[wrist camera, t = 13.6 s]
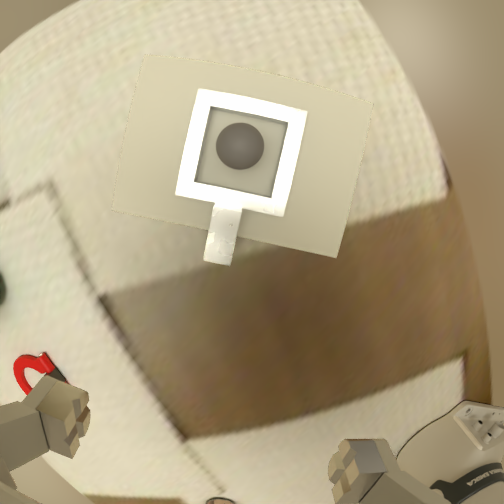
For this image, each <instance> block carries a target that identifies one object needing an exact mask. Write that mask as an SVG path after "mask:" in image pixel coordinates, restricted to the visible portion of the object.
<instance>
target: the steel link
mask: <svg viewBox="0 0 504 504" xmlns="http://www.w3.org/2000/svg"><path fill="white" fill-rule="evenodd" d="M213 110H216V111H222V112H227V113H232V114H237V115H242V116H247V117H252V118H256V119H261V120H265V121H270V122H274V123H278V124H282V125H286V126H285V131H284V135H283V139H282V144H281V148H280V152H279V157H278V161H277V165H276V170H275V174H274V178H273V183H272V187H271V191H270V196H267V195H262V194H258V193H253V192H249V191H244V190H239V189H234V188H230V187H225V186H220V185H215V184H210V183H205V182H200V181H197V179H198V174H199V169H200V165H201V160H202V155H203V151H204V146H205V142H206V137H207V133H208V128H209V124H210V120H211V116H212V111H213ZM307 113H308V111H304V110H300V109H296V108H292V107H288V106H284V105H280V104H276V103H272V102H267V101H263V100H258V99H254V98H249V97H244V96H239V95H234V94H229V93H223V92H217V91H212V90H205V89H198V93H197V97H196V101H195V105H194V109H193V113H192V117H191V122H190V126H189V130H188V135H187V139H186V144H185V148H184V153H183V158H182V163H181V167H180V172H179V178H178V183H177V188H176V193H175V195H179V196H184V197H189V198H194V199H199V200H204V201H209V202H214V203H216V204H215V205H214V207H213V212H212V217H211V222H210V227H209V232H208V237H207V242H206V247H205V253H204V258H203V260H204V261H208V262H213V263H218V264H223V265H228V266H230V264H231V260H232V255H233V250H234V246H235V241H236V236H237V232H238V227H239V223H240V218H241V214H242V208H243V209H247V210H252V211H257V212H261V213H266V214H270V215H275V216H279V217H283V216H284V212H285V208H286V203H287V199H288V195H289V191H290V187H291V182H292V178H293V174H294V170H295V165H296V161H297V157H298V152H299V148H300V144H301V139H302V135H303V130H304V126H305V122H306V117H307Z"/></svg>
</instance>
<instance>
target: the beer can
mask: <svg viewBox="0 0 504 504" xmlns="http://www.w3.org/2000/svg"><path fill="white" fill-rule="evenodd" d="M206 504H234V503H232V502H231V501H228V500H226V499H213V500H209V501H208V502H206Z"/></svg>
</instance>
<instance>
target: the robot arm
mask: <svg viewBox="0 0 504 504" xmlns="http://www.w3.org/2000/svg"><path fill="white" fill-rule="evenodd" d="M88 402H89V395H88V392H87V391H85V390H82V389H79V388H77V387H74V386H72V385H70V384H67V383H65V382H62V381H59V380H57V379H55V378H52V377H50V376H48V375H46V376H44V377H42V379H41V380H40V381H39V382H38V383H37V384H36V386H35V387H34V388H33V389H32V390H31V392H30V393H29V394H28V395H27V396H26V397H25V399H24V400H23V401H22V402H21V403H20V402H18V401H16V402H13V403H10V404H6V405H3V406H0V504H42V503H39V502H37V501H35V500H34V499H32V498H30V497H28V496H26V495H24V494H22V493H20V492H18V491H17V490H16V489H17V486H16V483H15V481H14V479H13V478H12V476H11V474H10V471H12V470H14V469H16V468H18V467H20V466H22V465H24V464H25V463H27V462H29V461H31V460H33V459H35V458H37V457H39V456H41V455H42V454H44V453H46V452H48V451H49V450H51V451H54V452H56V453H59V454H61V455H64V456H66V457H69V458H71V459H73V457H74V455H75V453H76V451H77V449H78V448H79V446H80V443H79V438H81V437H83V436H85V434H86V432H87V430H88V427H89V424H90V410H89V408H88V407H87V403H88ZM503 423H504V407H498V406H493V405H487V404H482V403H477V402H472V401H463V402H462V403H460V404H459V405H458V406H456V407H455V408H454V409H453V410H452V411H451V412H450V413H448V414H447V415H445V416H444V417H442V418H440V419H438V420H437V421H435V422H433V423H431V424H430V425H428V426H427V427H425V428H424V429H423V430H421V431H420V432H419V433H418V434H416V435H415V436H414V437H413V438H412V439H411V440H410V441H409V442H408V443H407V444H406V445H405V446H404V448H403V449H402V450H401V452H400V453H399V455H398V457H397V460H396V459H395V457H394V455H393V453H392V451H391V449H390V446H389V444H388V442H387V441H386V440H385V439H344V440H343V441H341V443H340V444H339V446H338V448H339V452H337V453H335V454H334V455H333V456H332V458H331V460H330V461H329V466H328V476H329V480H330V481H331V482H333V483H334V484H335V485H334V487H333V488H332V493H333V497H334V501H335V504H358V503H359V504H504V472H503V469H502V465H501V461H502V458H503V456H504V426H503Z"/></svg>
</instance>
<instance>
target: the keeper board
mask: <svg viewBox="0 0 504 504" xmlns="http://www.w3.org/2000/svg"><path fill="white" fill-rule="evenodd" d="M198 89H205V90H212V91H217V92H223V93H229V94H234V95H239V96H244V97H249V98H254V99H258V100H263V101H267V102H272V103H276V104H280V105H284V106H288V107H292V108H296V109H300V110H304V111H308V113H307V117H306V122H305V126H304V130H303V135H302V139H301V144H300V148H299V152H298V157H297V161H296V165H295V170H294V174H293V178H292V182H291V187H290V191H289V195H288V199H287V203H286V208H285V212H284V216H283V217H279V216H275V215H270V214H266V213H261V212H257V211H252V210H247V209H243V208H242V214H241V218H240V223H239V227H238V232H237V237H241V238H246V239H251V240H256V241H260V242H265V243H270V244H274V245H279V246H284V247H288V248H293V249H297V250H302V251H307V252H311V253H316V254H320V255H325V256H329V257H334V258H337V254H338V251H339V247H340V244H341V240H342V237H343V233H344V229H345V226H346V222H347V218H348V214H349V211H350V207H351V203H352V199H353V195H354V191H355V187H356V183H357V179H358V175H359V170H360V166H361V162H362V157H363V153H364V148H365V144H366V139H367V134H368V130H369V125H370V120H371V115H372V110H373V105H374V104H373V103H370V102H368V101H365V100H362V99H359V98H356V97H353V96H350V95H347V94H344V93H341V92H338V91H335V90H332V89H328V88H325V87H322V86H318V85H315V84H311V83H308V82H304V81H300V80H296V79H293V78H289V77H285V76H280V75H276V74H272V73H268V72H263V71H258V70H254V69H249V68H244V67H238V66H233V65H227V64H221V63H215V62H209V61H202V60H194V59H186V58H178V57H168V56H157V55H144V59H143V62H142V66H141V69H140V73H139V76H138V80H137V83H136V87H135V91H134V95H133V99H132V103H131V107H130V111H129V116H128V120H127V124H126V129H125V134H124V138H123V143H122V148H121V154H120V159H119V164H118V170H117V176H116V182H115V189H114V195H113V202H112V210H111V211H115V212H120V213H125V214H130V215H135V216H140V217H145V218H150V219H155V220H160V221H165V222H169V223H174V224H179V225H184V226H189V227H194V228H199V229H203V230H208V231H209V227H210V222H211V217H212V212H213V207H214V205H215V204H216V203H214V202H209V201H204V200H199V199H194V198H189V197H184V196H179V195H175V193H176V188H177V183H178V178H179V172H180V167H181V163H182V158H183V153H184V148H185V144H186V139H187V135H188V130H189V126H190V122H191V117H192V113H193V109H194V105H195V101H196V97H197V93H198ZM285 126H286V125H282V124H278V123H274V122H270V121H265V120H261V119H256V118H252V117H247V116H242V115H237V114H232V113H227V112H222V111H216V110H213V111H212V116H211V120H210V124H209V128H208V133H207V137H206V142H205V146H204V151H203V155H202V160H201V165H200V169H199V174H198V179H197V181H200V182H205V183H210V184H215V185H220V186H225V187H230V188H234V189H239V190H244V191H249V192H253V193H258V194H262V195H267V196H270V191H271V187H272V183H273V178H274V174H275V170H276V165H277V161H278V157H279V152H280V148H281V144H282V139H283V135H284V131H285Z"/></svg>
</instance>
